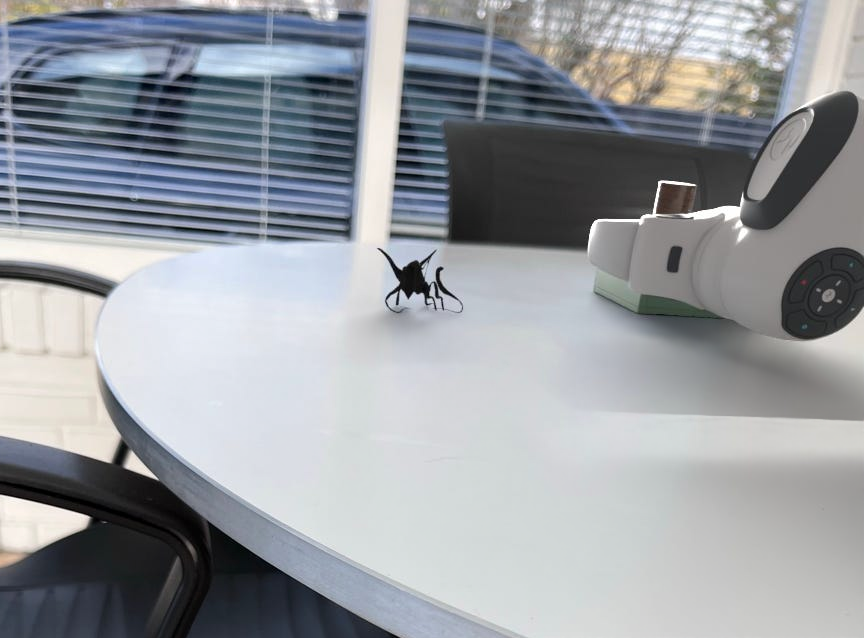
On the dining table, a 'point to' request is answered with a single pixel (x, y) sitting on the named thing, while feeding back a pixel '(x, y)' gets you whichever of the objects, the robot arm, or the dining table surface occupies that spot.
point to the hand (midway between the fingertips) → (663, 239)
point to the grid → (643, 299)
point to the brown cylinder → (674, 198)
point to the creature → (417, 282)
